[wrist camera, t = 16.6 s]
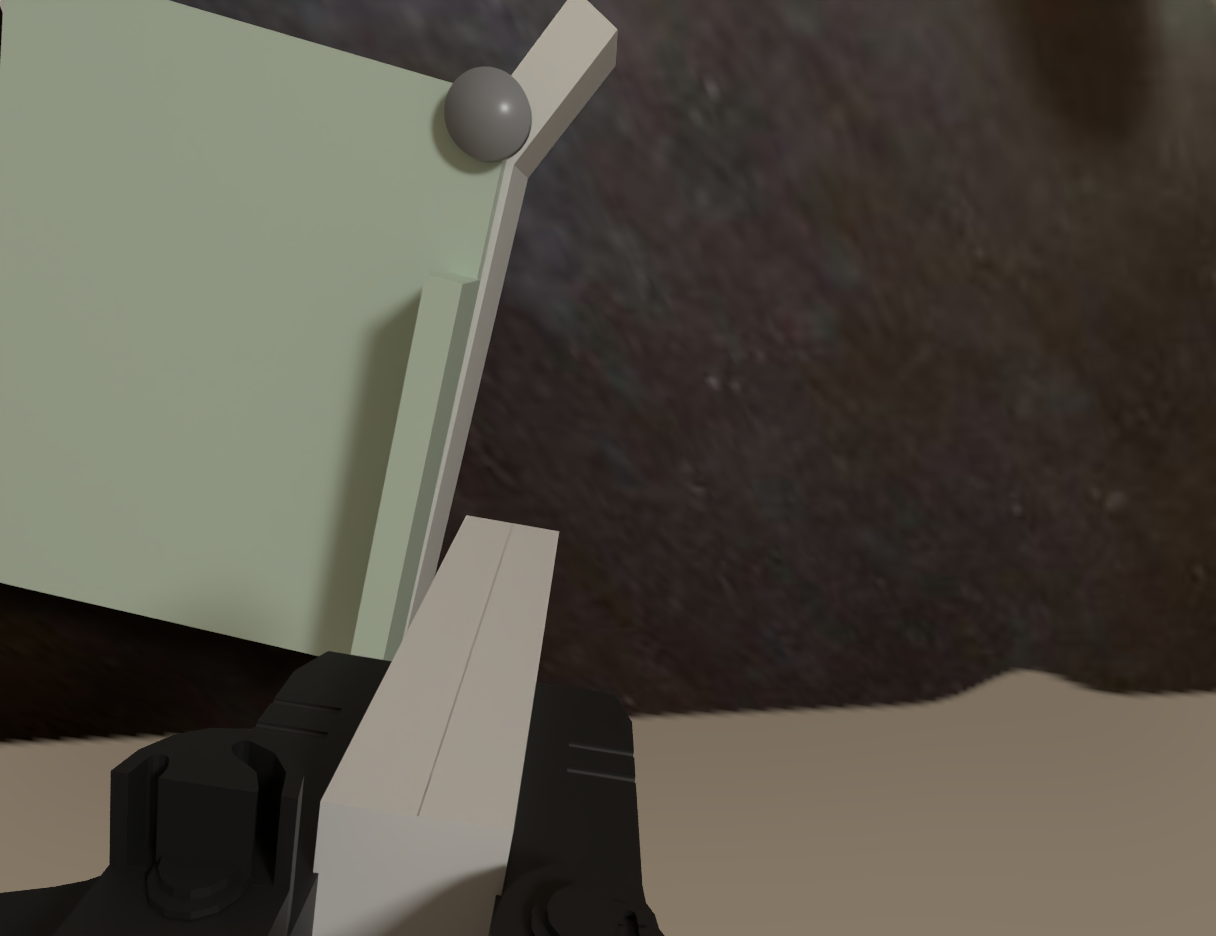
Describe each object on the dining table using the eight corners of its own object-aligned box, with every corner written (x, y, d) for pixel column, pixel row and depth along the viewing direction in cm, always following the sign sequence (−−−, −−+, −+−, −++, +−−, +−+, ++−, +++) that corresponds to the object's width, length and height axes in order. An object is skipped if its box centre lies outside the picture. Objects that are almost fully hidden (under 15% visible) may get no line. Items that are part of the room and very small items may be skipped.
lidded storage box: (476, 614, 32) (455, 670, 28) (8, 498, 31) (-89, 539, 26) (620, 44, 26) (623, 4, 22) (52, -133, 25) (-64, -213, 21)
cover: (-6, 567, 26) (-104, 618, 23) (28, -60, 21) (-91, -125, 18) (414, 665, 28) (385, 728, 24) (543, 91, 22) (530, 60, 19)
